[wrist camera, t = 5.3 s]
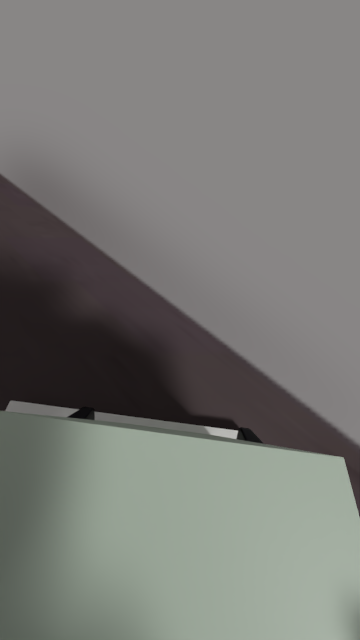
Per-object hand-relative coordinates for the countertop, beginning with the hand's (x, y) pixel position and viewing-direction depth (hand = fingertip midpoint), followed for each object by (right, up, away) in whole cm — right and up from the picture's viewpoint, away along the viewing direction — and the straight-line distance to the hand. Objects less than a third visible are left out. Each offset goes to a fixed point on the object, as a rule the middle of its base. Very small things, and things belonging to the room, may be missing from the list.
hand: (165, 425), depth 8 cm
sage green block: (0, -4, +4) cm, 6 cm away
